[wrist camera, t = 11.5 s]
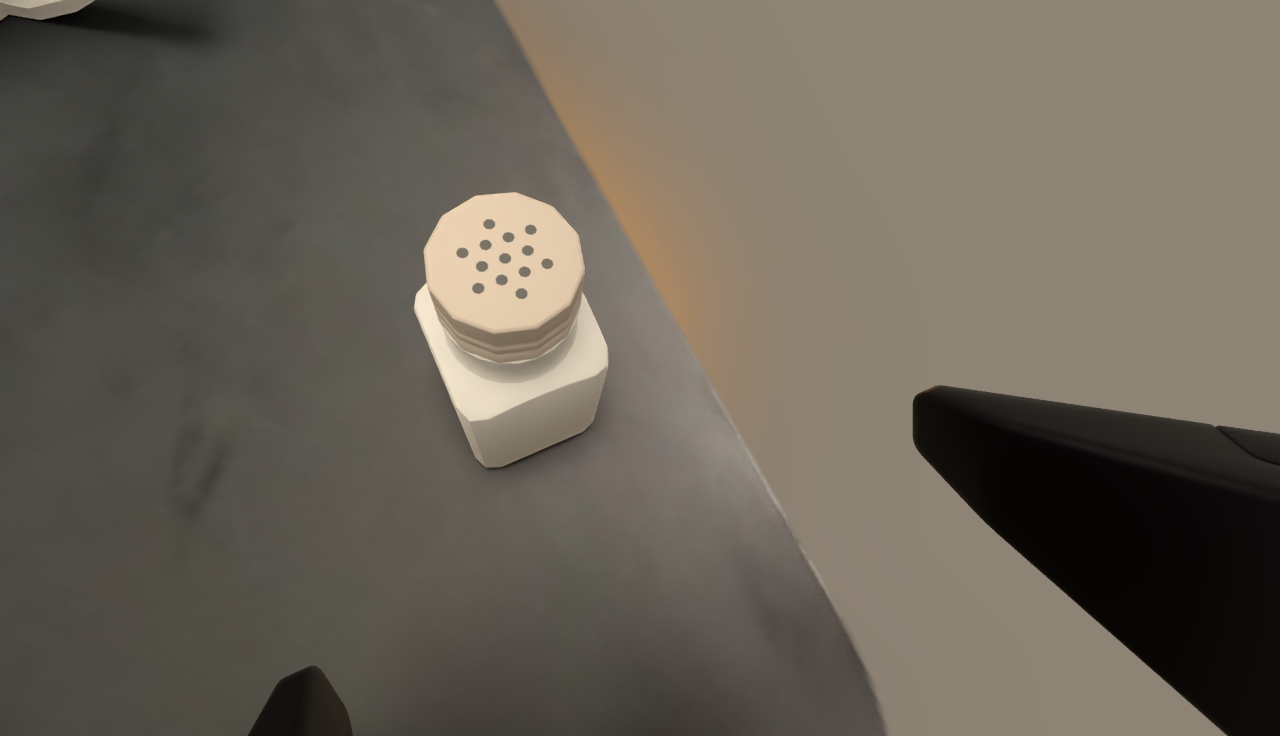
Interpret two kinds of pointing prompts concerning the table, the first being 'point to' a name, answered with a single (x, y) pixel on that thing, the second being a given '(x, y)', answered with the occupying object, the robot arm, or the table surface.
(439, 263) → the pepper shaker
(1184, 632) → the robot arm
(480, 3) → the table surface
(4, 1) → the cup
